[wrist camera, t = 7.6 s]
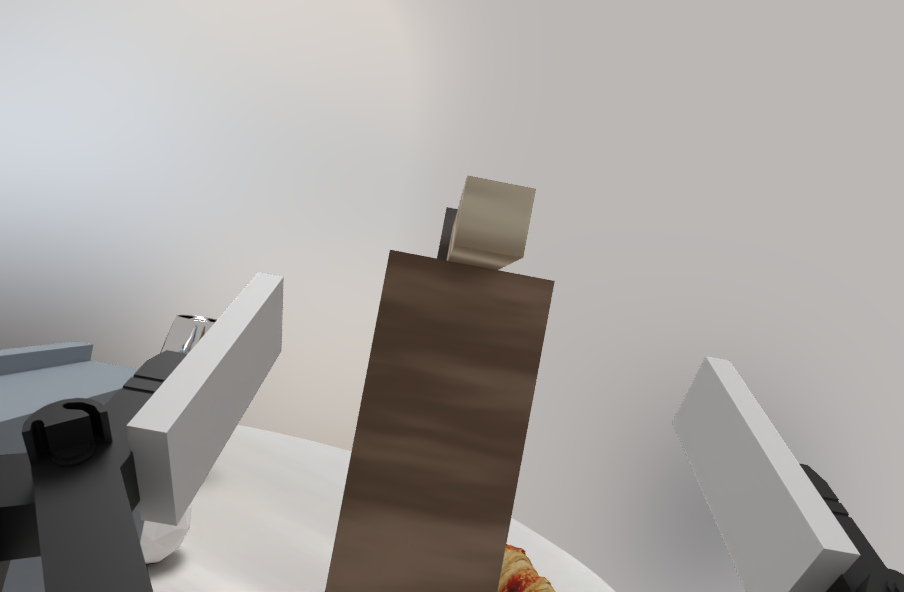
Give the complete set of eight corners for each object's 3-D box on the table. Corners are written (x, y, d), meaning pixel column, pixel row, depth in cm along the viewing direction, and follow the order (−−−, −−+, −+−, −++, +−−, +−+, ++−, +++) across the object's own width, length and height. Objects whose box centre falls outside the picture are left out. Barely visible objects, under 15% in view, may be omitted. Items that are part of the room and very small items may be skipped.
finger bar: (539, 260, 23) (557, 160, 23) (438, 241, 23) (457, 140, 23) (488, 280, 43) (498, 226, 43) (435, 270, 43) (445, 216, 43)
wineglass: (172, 459, 72) (201, 314, 73) (217, 476, 70) (246, 325, 70) (119, 472, 65) (151, 311, 65) (166, 491, 62) (199, 323, 63)
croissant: (564, 656, 51) (590, 571, 54) (540, 650, 44) (572, 551, 47) (391, 561, 62) (422, 495, 65) (349, 543, 54) (385, 470, 58)
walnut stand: (462, 781, 31) (554, 281, 32) (294, 755, 31) (390, 249, 32) (454, 649, 43) (520, 287, 44) (332, 629, 43) (401, 264, 44)
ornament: (99, 583, 43) (83, 494, 45) (136, 573, 49) (120, 495, 52) (183, 548, 45) (163, 463, 47) (208, 543, 51) (189, 468, 53)
